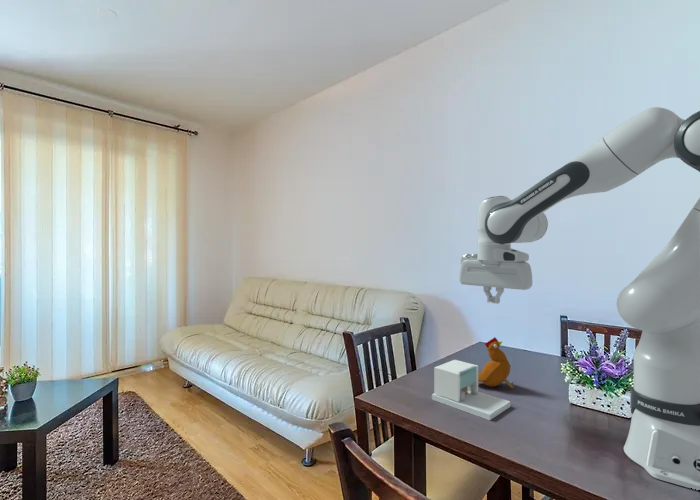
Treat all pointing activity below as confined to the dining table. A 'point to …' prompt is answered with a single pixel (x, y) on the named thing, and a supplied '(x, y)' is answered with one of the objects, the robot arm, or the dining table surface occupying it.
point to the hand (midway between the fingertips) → (493, 302)
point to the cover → (454, 378)
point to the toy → (495, 366)
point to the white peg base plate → (476, 403)
